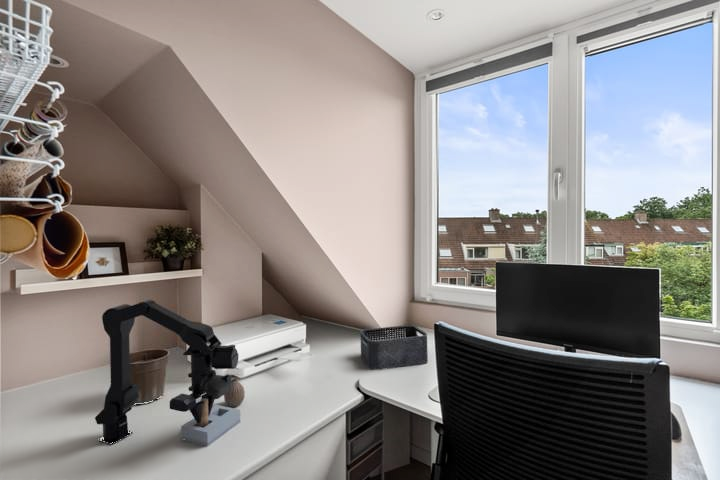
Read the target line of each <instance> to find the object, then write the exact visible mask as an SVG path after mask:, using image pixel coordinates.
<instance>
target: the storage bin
mask: <svg viewBox="0 0 720 480" xmlns="http://www.w3.org/2000/svg"><path fill="white" fill-rule="evenodd" d="M359 333H360V358H361V360H362V361H363V363H364V364H365V365H366V366H367V368H368V369H370V370H373V369H379V370H384V369H383V368H387V369H393V367H395V368H402V367H408V366H416V365H424V364H426V363H428V361H429V360H428V357H429V356H428V353H429V352H428V333H427V332H426V331H424V330H422V329H421V328H419V327H418V326H417V325H413V324H407V325H406V324H405V325H404V324H403V325H395V326H386V327H384V326H383V327H377V328H375V327H374V328H367V329H365V328H364V329H362V330H360V332H359ZM418 333H419V334H421V335H418Z"/></svg>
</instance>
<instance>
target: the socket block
mask: <svg viewBox="0 0 720 480" xmlns="http://www.w3.org/2000/svg"><path fill="white" fill-rule="evenodd" d="M239 423H241V409H238V408H235V407H230V406H223V405H219V404H214V405H213V406H212V409H211V412H210V416H209V424H208V425H207V426H205V427H204V428H202V427H198V423H197V422H196V420H195V418H194V417H193V418H192V419H190V420H189V421H187V422H186V423H185V422H184V424H182V425H181V426H180V430H181V434H180V435H181V440H182V439H185V440H184V441H186V440H188V441H187V442H190V441H191V443H194V442H195V444H197V443H198V445H203V446H206V447H209V446H210V445H211V444H213V443H214V442H215V441H217V440H219V438H221V437H222V436H224V435H225V434H227V433H228V432H229V431H230V430H232V429H233V428H234V427H236V426H237V425H238V424H239Z"/></svg>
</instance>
